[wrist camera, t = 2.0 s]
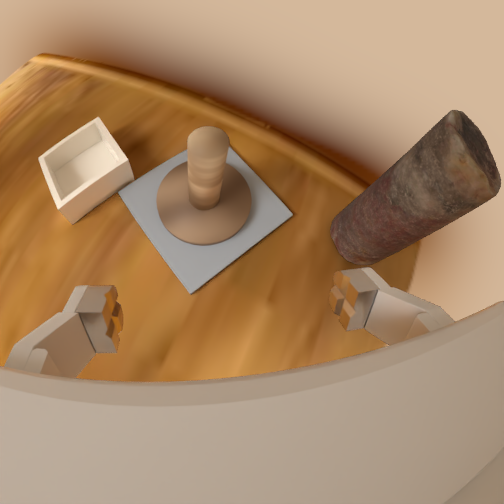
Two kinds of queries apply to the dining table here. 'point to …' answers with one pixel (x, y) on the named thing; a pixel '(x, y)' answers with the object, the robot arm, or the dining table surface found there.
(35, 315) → the dining table surface
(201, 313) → the dining table surface
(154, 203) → the mat
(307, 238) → the dining table surface
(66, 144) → the dish
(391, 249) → the candle
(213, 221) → the lid
